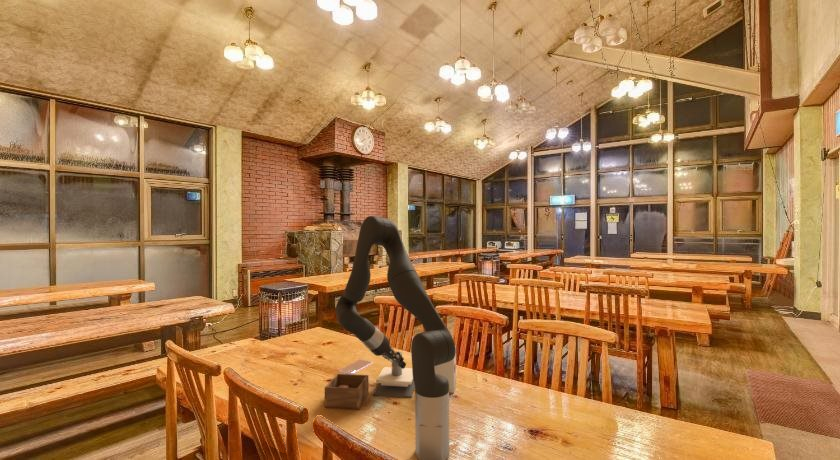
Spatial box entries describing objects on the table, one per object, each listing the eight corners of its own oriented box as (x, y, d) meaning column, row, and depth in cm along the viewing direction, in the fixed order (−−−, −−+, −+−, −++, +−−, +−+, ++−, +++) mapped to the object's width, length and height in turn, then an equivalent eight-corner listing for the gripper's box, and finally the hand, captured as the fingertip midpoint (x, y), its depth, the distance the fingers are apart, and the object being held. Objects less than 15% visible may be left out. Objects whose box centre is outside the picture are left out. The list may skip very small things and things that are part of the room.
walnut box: (358, 409, 127) (358, 389, 127) (324, 407, 129) (324, 387, 129) (368, 394, 139) (368, 375, 139) (337, 392, 141) (337, 373, 141)
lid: (410, 388, 138) (410, 359, 138) (376, 386, 140) (376, 358, 140) (416, 374, 151) (415, 348, 151) (384, 373, 153) (384, 347, 153)
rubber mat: (411, 397, 136) (411, 396, 136) (373, 395, 138) (373, 393, 138) (418, 377, 154) (418, 376, 154) (384, 375, 156) (384, 374, 156)
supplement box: (454, 393, 139) (454, 353, 139) (430, 391, 141) (429, 351, 141) (456, 383, 148) (456, 345, 148) (434, 381, 150) (433, 344, 149)
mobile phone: (373, 361, 170) (351, 373, 157) (373, 363, 170) (351, 375, 157) (360, 358, 174) (337, 369, 161) (360, 361, 174) (337, 372, 161)
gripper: (392, 335, 135) (418, 361, 143) (369, 327, 146) (394, 352, 154) (380, 354, 132) (407, 379, 140) (358, 344, 142) (384, 368, 151)
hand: (400, 364), depth 147 cm, fingers closed on lid, 4 cm apart
